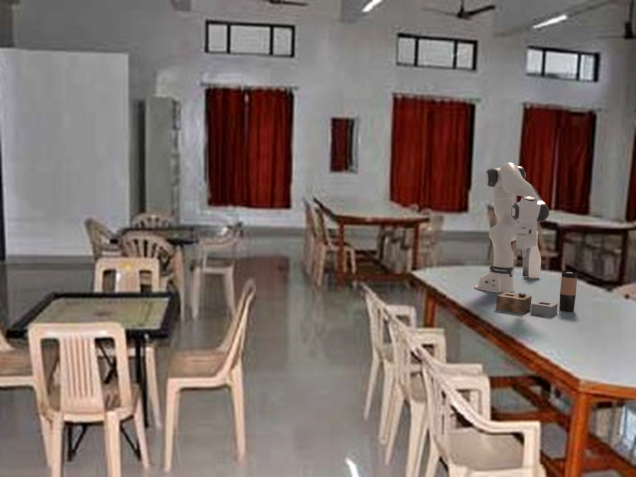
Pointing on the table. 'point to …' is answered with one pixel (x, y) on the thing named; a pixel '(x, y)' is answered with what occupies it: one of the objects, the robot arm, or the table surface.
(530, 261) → the wine bottle
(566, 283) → the travel mug
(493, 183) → the robot arm
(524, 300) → the socket block
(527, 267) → the grey tapered rounded rod
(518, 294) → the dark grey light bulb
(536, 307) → the grey square ring block
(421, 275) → the table surface
